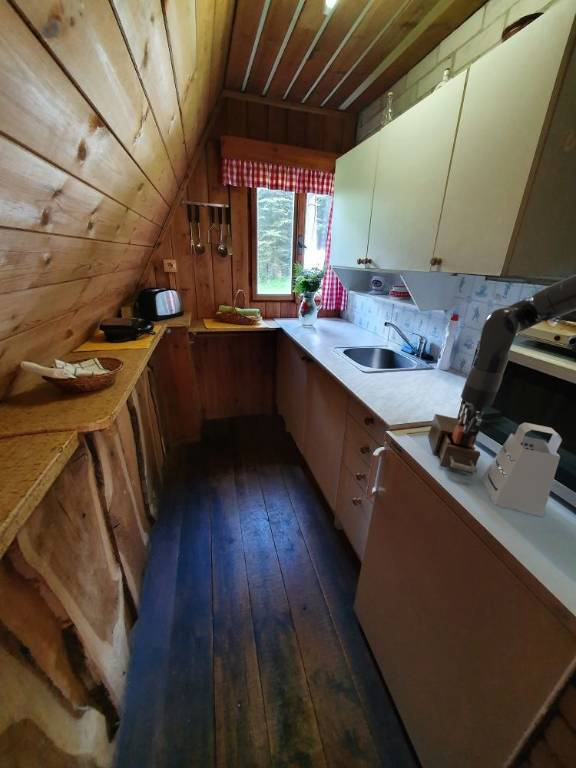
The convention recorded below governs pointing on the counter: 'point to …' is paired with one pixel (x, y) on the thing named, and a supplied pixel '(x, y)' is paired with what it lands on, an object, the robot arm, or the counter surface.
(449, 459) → the drawer
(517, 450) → the grater
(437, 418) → the cabinet
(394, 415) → the counter surface
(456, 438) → the block
